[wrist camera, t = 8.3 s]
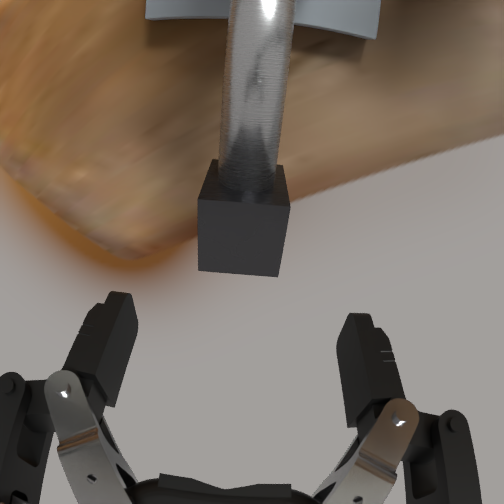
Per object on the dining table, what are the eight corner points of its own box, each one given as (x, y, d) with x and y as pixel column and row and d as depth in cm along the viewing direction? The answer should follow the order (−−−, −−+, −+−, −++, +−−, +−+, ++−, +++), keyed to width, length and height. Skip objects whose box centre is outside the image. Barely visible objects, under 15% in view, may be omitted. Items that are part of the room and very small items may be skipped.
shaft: (309, -53, 10) (328, -85, 6) (274, 224, 20) (278, 277, 16) (230, -60, 10) (219, -96, 6) (210, 219, 20) (198, 270, 16)
